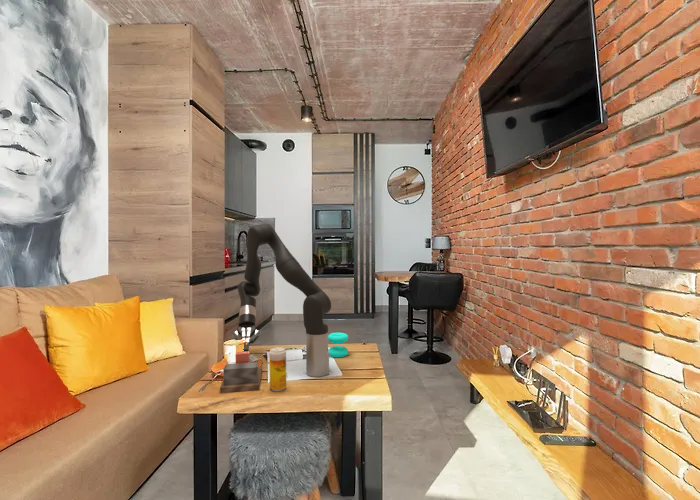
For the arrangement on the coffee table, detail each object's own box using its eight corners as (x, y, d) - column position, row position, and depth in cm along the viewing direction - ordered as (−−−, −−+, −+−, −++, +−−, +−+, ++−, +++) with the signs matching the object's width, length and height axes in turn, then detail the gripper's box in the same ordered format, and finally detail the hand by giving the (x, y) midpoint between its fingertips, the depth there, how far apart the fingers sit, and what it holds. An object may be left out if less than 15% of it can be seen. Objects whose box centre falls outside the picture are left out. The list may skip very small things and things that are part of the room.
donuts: (326, 332, 183) (345, 331, 185) (326, 352, 183) (345, 351, 185) (329, 337, 173) (350, 336, 175) (329, 359, 173) (350, 357, 176)
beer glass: (282, 392, 136) (282, 352, 136) (267, 391, 138) (266, 351, 137) (288, 386, 142) (288, 347, 142) (273, 384, 144) (273, 346, 143)
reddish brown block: (249, 373, 150) (249, 351, 150) (249, 375, 147) (248, 353, 147) (236, 374, 149) (236, 352, 149) (235, 376, 146) (235, 354, 146)
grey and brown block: (262, 371, 158) (261, 352, 158) (259, 390, 139) (258, 369, 138) (228, 373, 156) (227, 354, 156) (220, 393, 136) (219, 371, 136)
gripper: (231, 313, 168) (228, 348, 156) (261, 312, 170) (260, 346, 159) (233, 322, 173) (230, 356, 162) (262, 321, 176) (261, 354, 164)
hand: (245, 351), depth 160 cm, fingers closed
